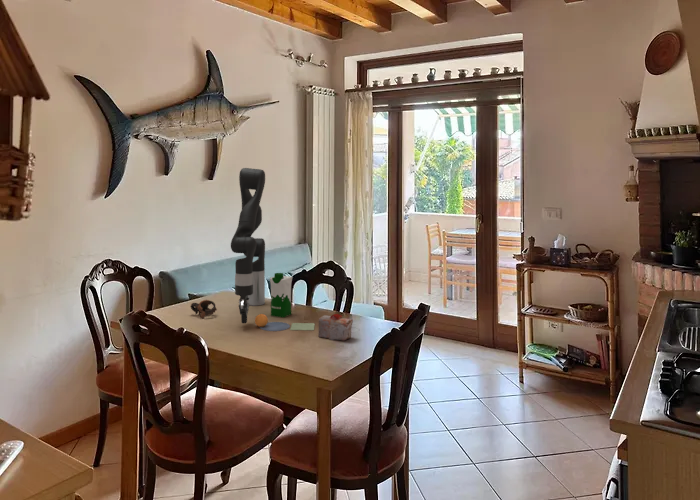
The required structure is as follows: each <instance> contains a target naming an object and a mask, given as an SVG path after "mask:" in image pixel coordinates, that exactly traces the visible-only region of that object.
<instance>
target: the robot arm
mask: <svg viewBox="0 0 700 500" xmlns="http://www.w3.org/2000/svg"><path fill="white" fill-rule="evenodd" d="M238 175H239V177H238V181H239V182H238V183H239V189H240V197H241V198H240V199H241V210H240V212H239V213H240V214H239V216H238V217H239V218H238V223H237V228H236V230H235V233H234V234H233V237H232V239H231V241H230V249H231V251H232V253H235V254H243V255H244V257H243V258H237V259H236V260H235V264H234V265H235V275H234V276H235V277H234V293H235V295H236V296H240V297H239V299H238V303H239V304H238V311H239V314H240V315H241V317H240V318H241V320H240V321H241V324H247V323H248V312H249V308H250V306H254V307H256V306H262V305H265V303H266V302H265V301H266V296H265V294H266V293H265V292H266V290H265V289H266V287H265V286H266V284H265V283H266V279H265V276H266V275H265V274H266V272H265V270H266V269H265V267H266V266H265V265H266V264H265V258H266V257H265V256H266V243H265V242H266V241H265V239H264V238H259V237H258V238H256V237H254V236H252V235H253V234H254V233H255V232H256V230H257V229H258V228H259V227H260V225H262V221H263V220H262V219H263V218H262V217H263V210H262V207H261V206H260V203H261V200H262V196H263V193H264V192H263V191H264V188H265V185H266V184H265V183H266V172H265V171H264V169H259V168H249V167H243V168H241V169H240V171H239V174H238ZM250 190H251V191H253V190H254V193H253V195H252V194H251V193H252V192H250ZM256 257H258V258H257V259H256V260H254V258H256Z"/></svg>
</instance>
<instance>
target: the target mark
mask: <svg viewBox="0 0 700 500" xmlns="http://www.w3.org/2000/svg"><path fill="white" fill-rule="evenodd" d="M290 328H291V325H290V324H289V323H286V322H282V321H271V322H268V323H267V324H266V325H265V326H264V327H259V329H261V330H262V331H268V332H280V331H285V330H288V329H290Z"/></svg>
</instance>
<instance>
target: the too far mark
mask: <svg viewBox="0 0 700 500" xmlns="http://www.w3.org/2000/svg"><path fill="white" fill-rule="evenodd" d="M315 325H316V324H315V323H314V322H291V325H290V328H289V330H290V331H315Z"/></svg>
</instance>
